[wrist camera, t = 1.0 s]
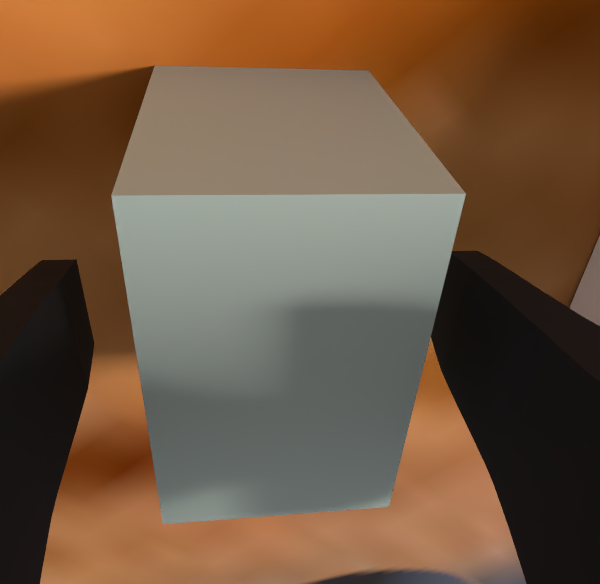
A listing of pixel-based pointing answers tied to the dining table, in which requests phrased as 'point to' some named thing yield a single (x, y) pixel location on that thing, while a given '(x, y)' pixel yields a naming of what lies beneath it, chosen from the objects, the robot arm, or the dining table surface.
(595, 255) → the white flat plank
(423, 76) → the dining table surface
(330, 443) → the cabinet block
